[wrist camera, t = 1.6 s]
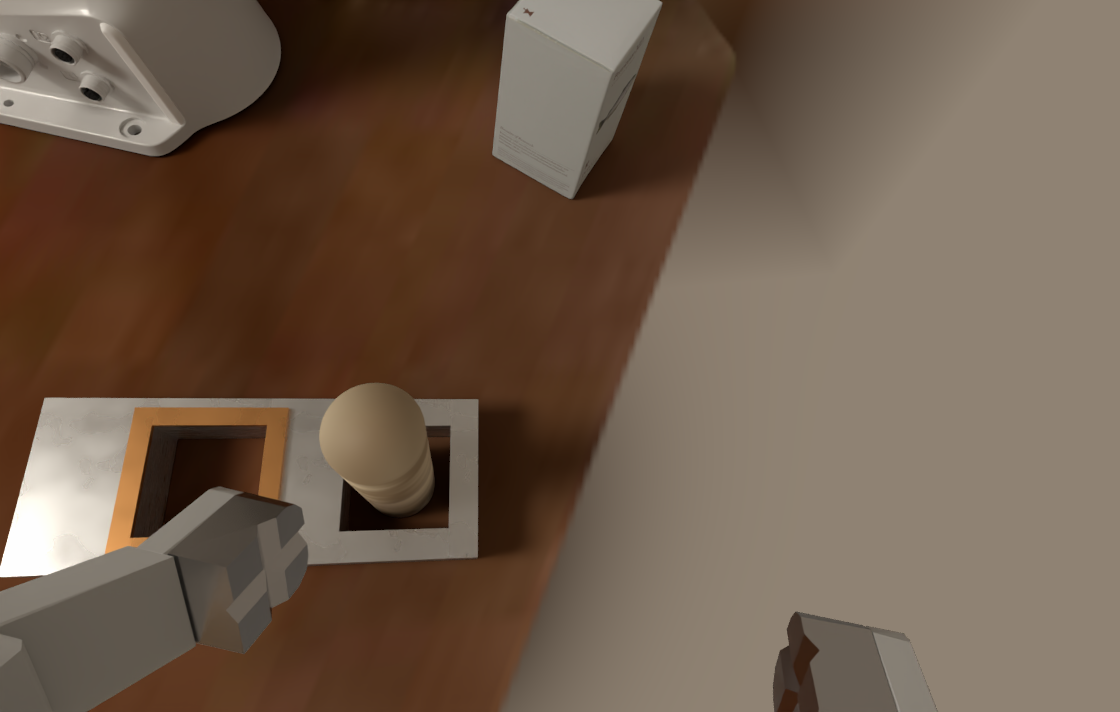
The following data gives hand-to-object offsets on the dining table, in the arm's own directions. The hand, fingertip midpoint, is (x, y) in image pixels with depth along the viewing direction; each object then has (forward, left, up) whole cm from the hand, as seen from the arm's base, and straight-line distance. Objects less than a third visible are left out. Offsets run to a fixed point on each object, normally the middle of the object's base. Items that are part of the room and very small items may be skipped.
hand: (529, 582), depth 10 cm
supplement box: (+6, +32, -28) cm, 43 cm away
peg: (-4, +6, -28) cm, 28 cm away
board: (-11, +6, -28) cm, 30 cm away
